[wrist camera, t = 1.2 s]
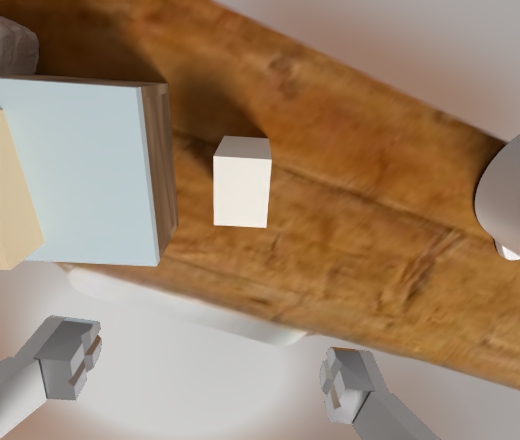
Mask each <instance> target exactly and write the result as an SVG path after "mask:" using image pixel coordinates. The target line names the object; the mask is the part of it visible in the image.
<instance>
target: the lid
mask: <svg viewBox="0 0 520 440" xmlns="http://www.w3.org/2000/svg"><path fill="white" fill-rule="evenodd" d="M23 260H36V261H56V262H77V263H97V264H118V265H138V266H157V265H158V263H159V261H160V256H159V247H158V238H157V229H156V220H155V211H154V202H153V193H152V184H151V175H150V166H149V157H148V148H147V139H146V130H145V121H144V112H143V103H142V93H141V87H132V86H117V85H103V84H88V83H73V82H58V81H43V80H29V79H14V78H0V269H1V270H11V269H13V268H14V267H15V266H16V265H18V264H19V263H20V262H21V261H23Z"/></svg>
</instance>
